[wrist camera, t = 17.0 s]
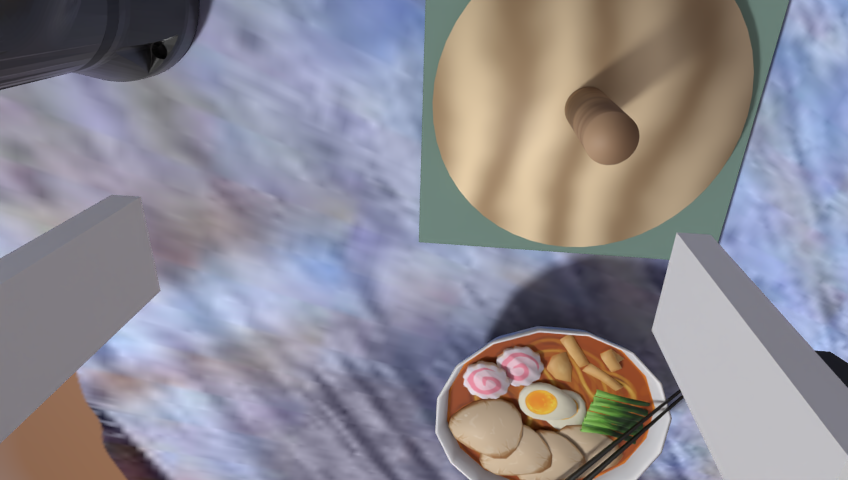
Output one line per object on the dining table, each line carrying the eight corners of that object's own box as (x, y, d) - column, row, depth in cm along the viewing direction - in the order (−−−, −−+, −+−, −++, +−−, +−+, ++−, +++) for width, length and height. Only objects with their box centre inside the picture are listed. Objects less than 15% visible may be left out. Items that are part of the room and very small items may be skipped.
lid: (430, 234, 53) (417, 292, 43) (437, -71, 42) (423, -87, 32) (705, 250, 51) (758, 315, 41) (791, -66, 40) (892, -82, 30)
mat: (419, 239, 54) (418, 242, 54) (428, -87, 42) (428, -87, 41) (709, 259, 52) (712, 262, 51) (807, -78, 40) (812, -79, 39)
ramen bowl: (535, 239, 53) (543, 281, 45) (705, 359, 57) (738, 415, 49) (395, 393, 63) (383, 447, 56) (547, 486, 67) (555, 548, 60)
